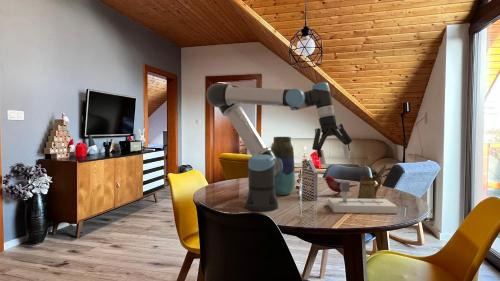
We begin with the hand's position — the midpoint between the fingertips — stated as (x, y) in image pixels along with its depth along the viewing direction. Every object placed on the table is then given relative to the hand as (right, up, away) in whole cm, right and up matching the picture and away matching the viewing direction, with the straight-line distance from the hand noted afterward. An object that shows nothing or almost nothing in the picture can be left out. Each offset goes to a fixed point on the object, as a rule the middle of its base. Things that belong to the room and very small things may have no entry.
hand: (335, 161), depth 146 cm
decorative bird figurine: (+9, -20, +24) cm, 32 cm away
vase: (-22, -20, +28) cm, 41 cm away
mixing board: (+10, -21, -5) cm, 23 cm away
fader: (+3, -18, -5) cm, 18 cm away
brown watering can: (+21, -20, +12) cm, 31 cm away
